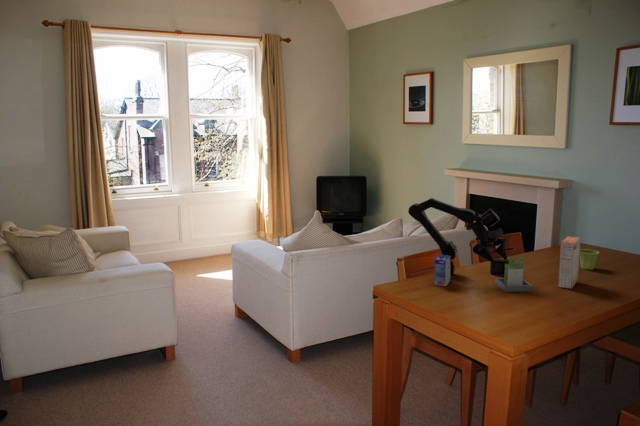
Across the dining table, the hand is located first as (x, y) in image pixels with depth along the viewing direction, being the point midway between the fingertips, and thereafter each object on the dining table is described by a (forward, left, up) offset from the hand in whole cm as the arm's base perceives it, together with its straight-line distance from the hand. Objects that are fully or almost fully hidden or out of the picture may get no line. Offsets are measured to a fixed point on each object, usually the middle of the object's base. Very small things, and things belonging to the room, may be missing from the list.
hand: (500, 260), depth 246 cm
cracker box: (+30, -2, -11) cm, 32 cm away
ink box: (+4, -6, -10) cm, 13 cm away
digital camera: (+6, +15, -11) cm, 20 cm away
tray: (+4, -6, -10) cm, 13 cm away
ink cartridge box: (-26, +1, -11) cm, 28 cm away
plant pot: (+52, +25, -11) cm, 59 cm away
